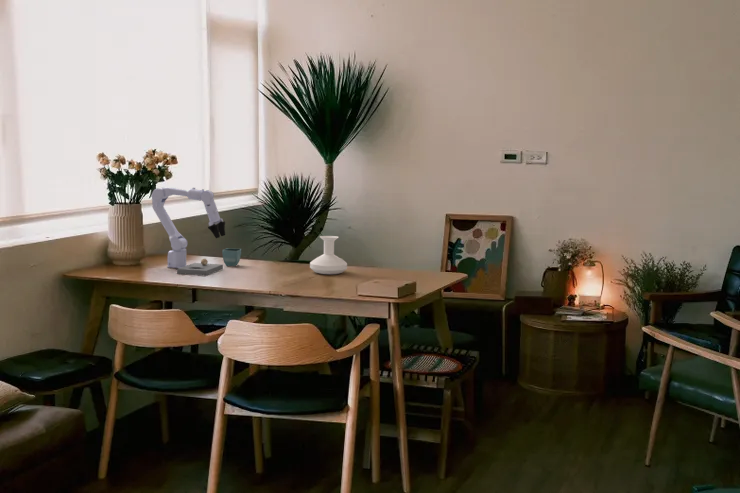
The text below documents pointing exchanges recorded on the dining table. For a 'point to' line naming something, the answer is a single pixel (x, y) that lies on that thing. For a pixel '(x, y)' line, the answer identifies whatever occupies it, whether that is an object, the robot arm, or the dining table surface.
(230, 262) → the flower pot
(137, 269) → the dining table surface
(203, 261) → the ball
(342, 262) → the white vase
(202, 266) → the board
